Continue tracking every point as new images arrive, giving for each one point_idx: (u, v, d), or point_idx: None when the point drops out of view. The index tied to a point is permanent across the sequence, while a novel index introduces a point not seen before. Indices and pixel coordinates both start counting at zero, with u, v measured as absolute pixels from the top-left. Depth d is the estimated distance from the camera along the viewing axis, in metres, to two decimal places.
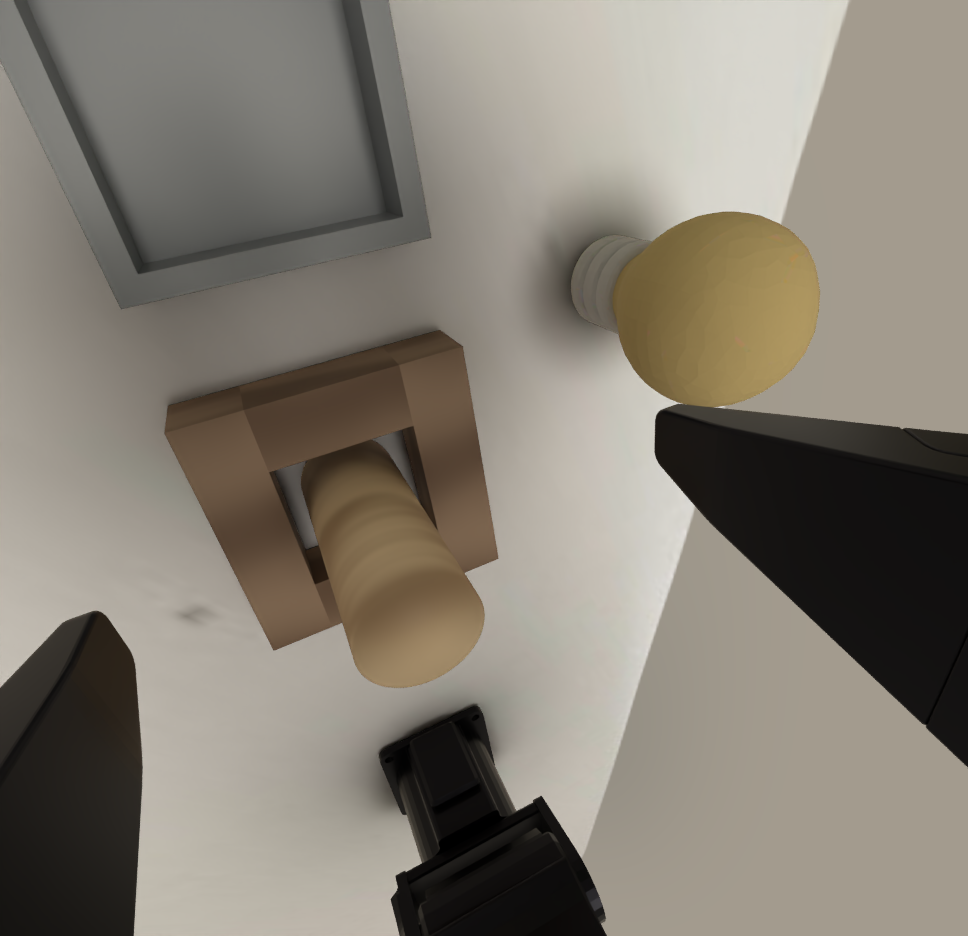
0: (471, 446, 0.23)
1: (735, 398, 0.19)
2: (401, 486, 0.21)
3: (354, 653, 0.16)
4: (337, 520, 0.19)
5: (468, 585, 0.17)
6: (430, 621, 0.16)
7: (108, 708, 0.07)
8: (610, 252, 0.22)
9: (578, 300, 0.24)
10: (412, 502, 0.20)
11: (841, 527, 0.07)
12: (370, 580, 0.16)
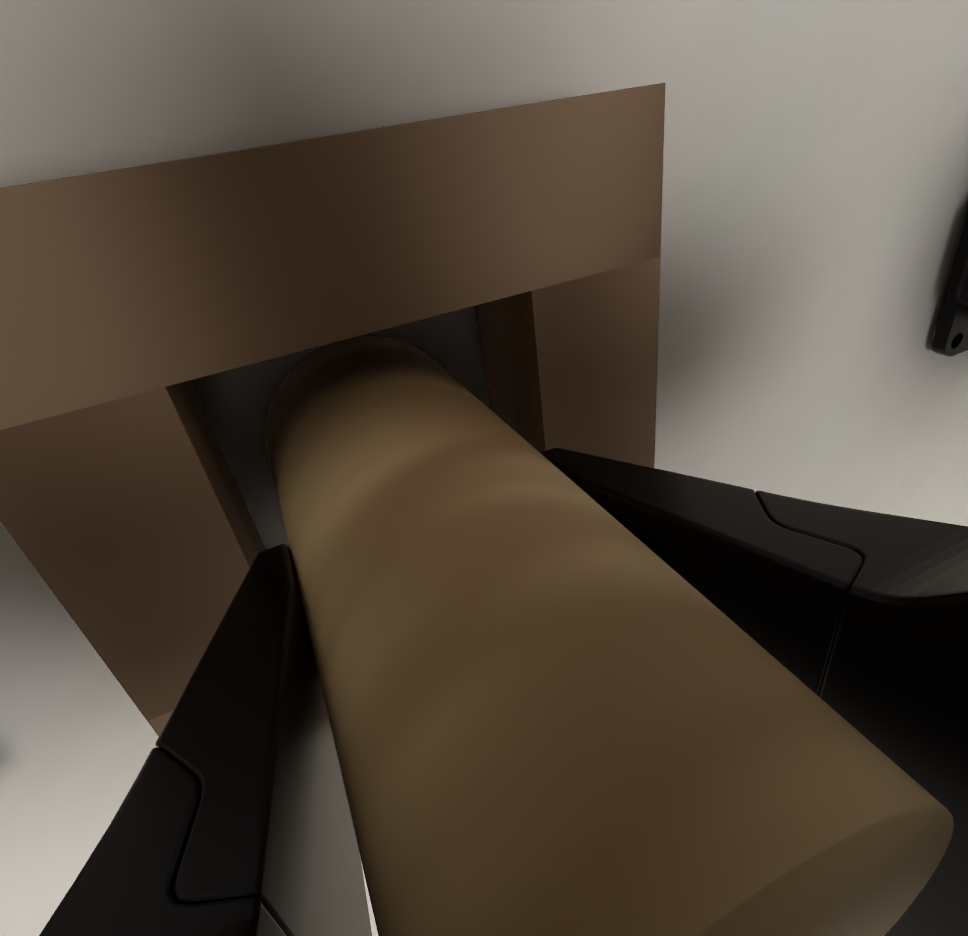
0: (240, 184, 0.07)
1: None
2: (315, 492, 0.07)
3: None
4: None
5: None
6: None
7: None
8: None
9: None
10: (336, 535, 0.06)
11: None
12: None
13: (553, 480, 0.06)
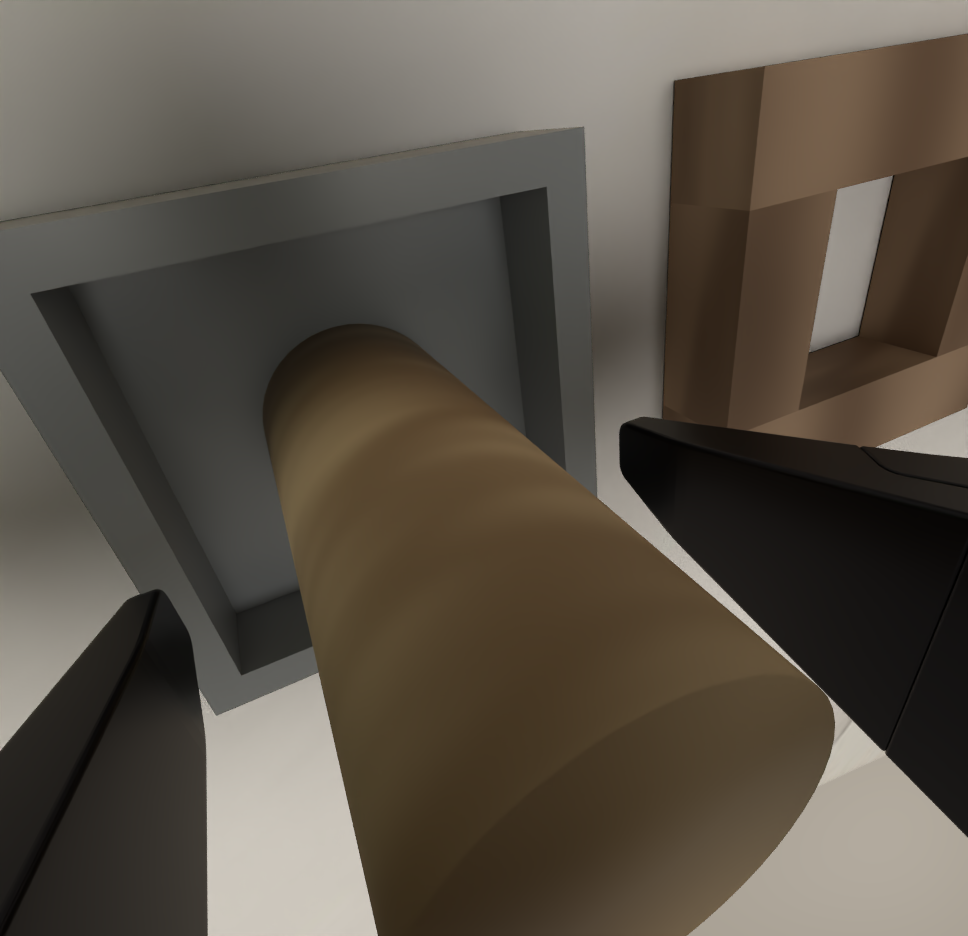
0: (917, 61, 0.12)
1: None
2: (305, 458, 0.08)
3: None
4: None
5: (487, 816, 0.03)
6: (599, 875, 0.04)
7: (175, 681, 0.07)
8: None
9: None
10: (321, 491, 0.07)
11: (797, 548, 0.07)
12: None
13: (516, 442, 0.07)
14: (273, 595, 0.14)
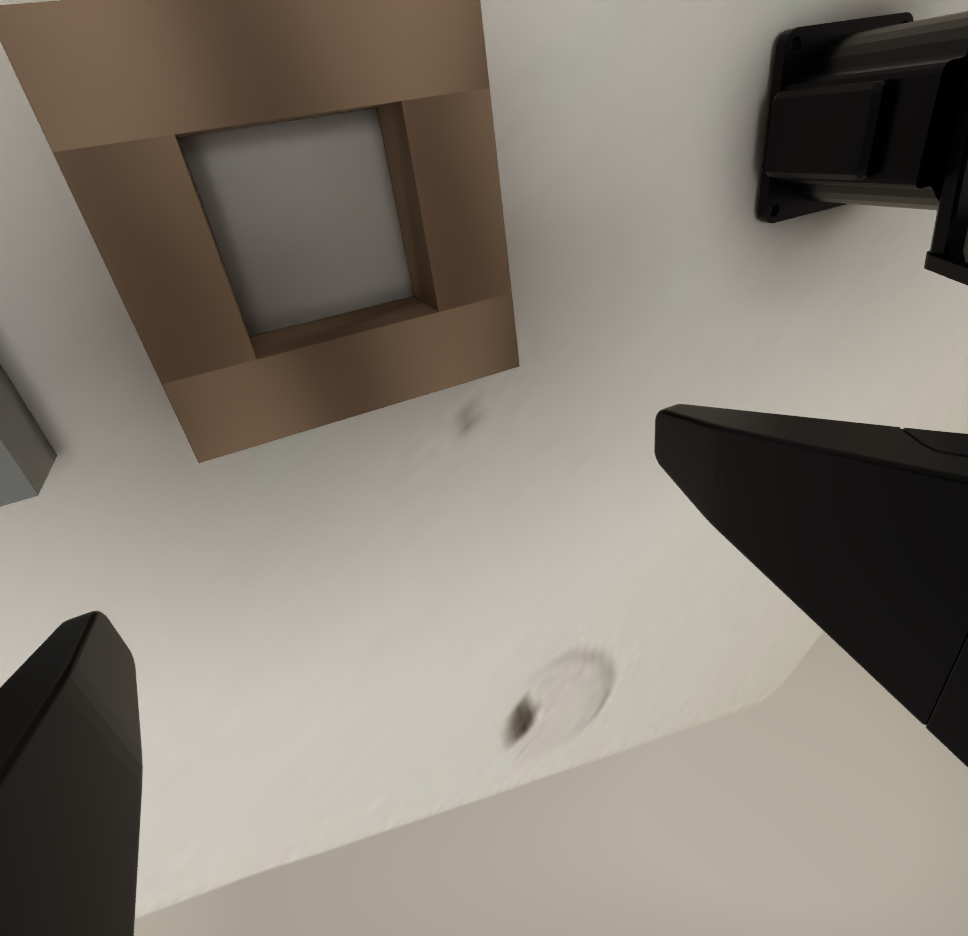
0: (216, 8, 0.12)
1: None
2: None
3: None
4: None
5: None
6: None
7: (108, 708, 0.07)
8: None
9: None
10: None
11: (842, 528, 0.07)
12: None
13: None
14: None
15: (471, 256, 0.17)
